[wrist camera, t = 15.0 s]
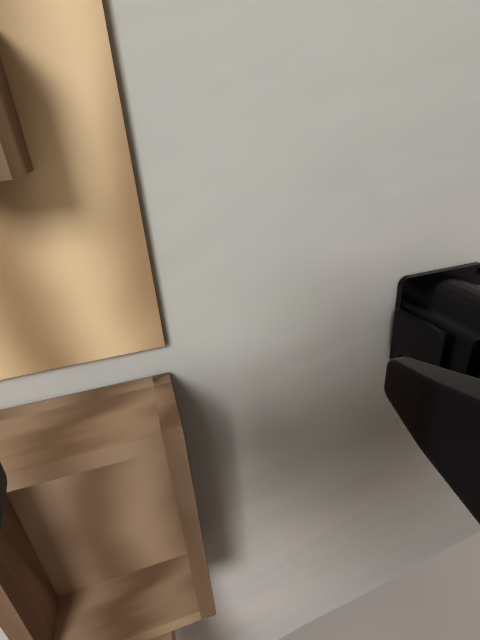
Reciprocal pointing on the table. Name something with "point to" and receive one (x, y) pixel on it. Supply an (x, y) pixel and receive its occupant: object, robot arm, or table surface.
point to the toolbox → (100, 518)
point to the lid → (67, 196)
